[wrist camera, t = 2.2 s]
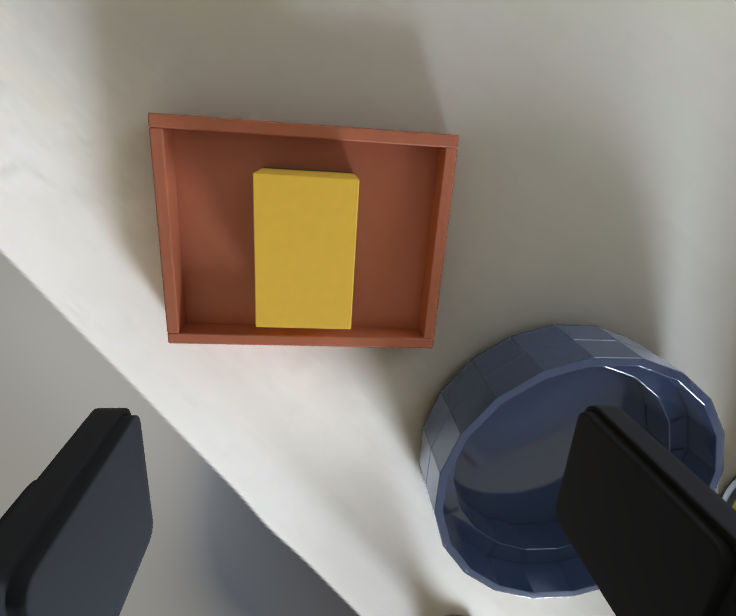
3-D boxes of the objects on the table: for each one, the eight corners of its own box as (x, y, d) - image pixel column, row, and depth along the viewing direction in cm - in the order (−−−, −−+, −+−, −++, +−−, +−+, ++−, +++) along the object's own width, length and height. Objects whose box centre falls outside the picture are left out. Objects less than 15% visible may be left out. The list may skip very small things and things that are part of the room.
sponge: (263, 166, 23) (252, 172, 19) (353, 172, 24) (359, 179, 20) (265, 299, 26) (255, 327, 22) (346, 301, 26) (350, 329, 22)
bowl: (434, 317, 27) (457, 354, 23) (696, 324, 29) (767, 360, 25) (406, 537, 33) (421, 603, 29) (627, 532, 35) (674, 592, 30)
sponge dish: (161, 114, 22) (147, 112, 20) (448, 135, 24) (459, 135, 22) (179, 328, 26) (168, 343, 24) (425, 334, 28) (433, 348, 26)
